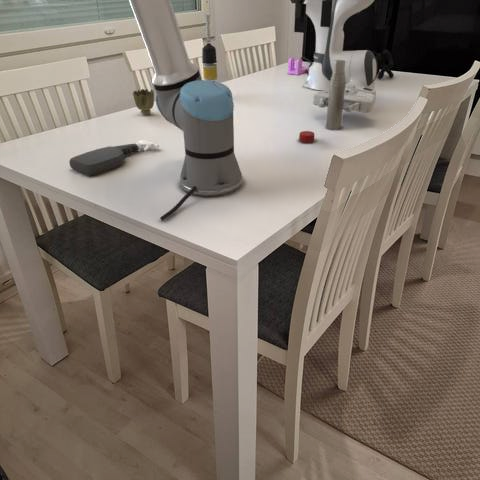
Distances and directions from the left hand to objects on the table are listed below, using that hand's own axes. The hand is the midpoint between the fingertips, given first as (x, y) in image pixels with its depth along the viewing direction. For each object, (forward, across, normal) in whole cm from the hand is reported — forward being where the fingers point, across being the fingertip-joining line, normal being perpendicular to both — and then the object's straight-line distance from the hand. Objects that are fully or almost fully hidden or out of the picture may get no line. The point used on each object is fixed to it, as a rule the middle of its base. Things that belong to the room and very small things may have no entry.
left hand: (312, 29), depth 119 cm
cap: (+29, 0, 0) cm, 29 cm away
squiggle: (+30, +94, +16) cm, 100 cm away
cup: (+31, -9, +62) cm, 70 cm away
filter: (+31, +21, +56) cm, 67 cm away
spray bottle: (+31, -43, +35) cm, 64 cm away
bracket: (+30, +84, +53) cm, 104 cm away
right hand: (+24, +16, -1) cm, 29 cm away
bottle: (+31, +17, -1) cm, 35 cm away
